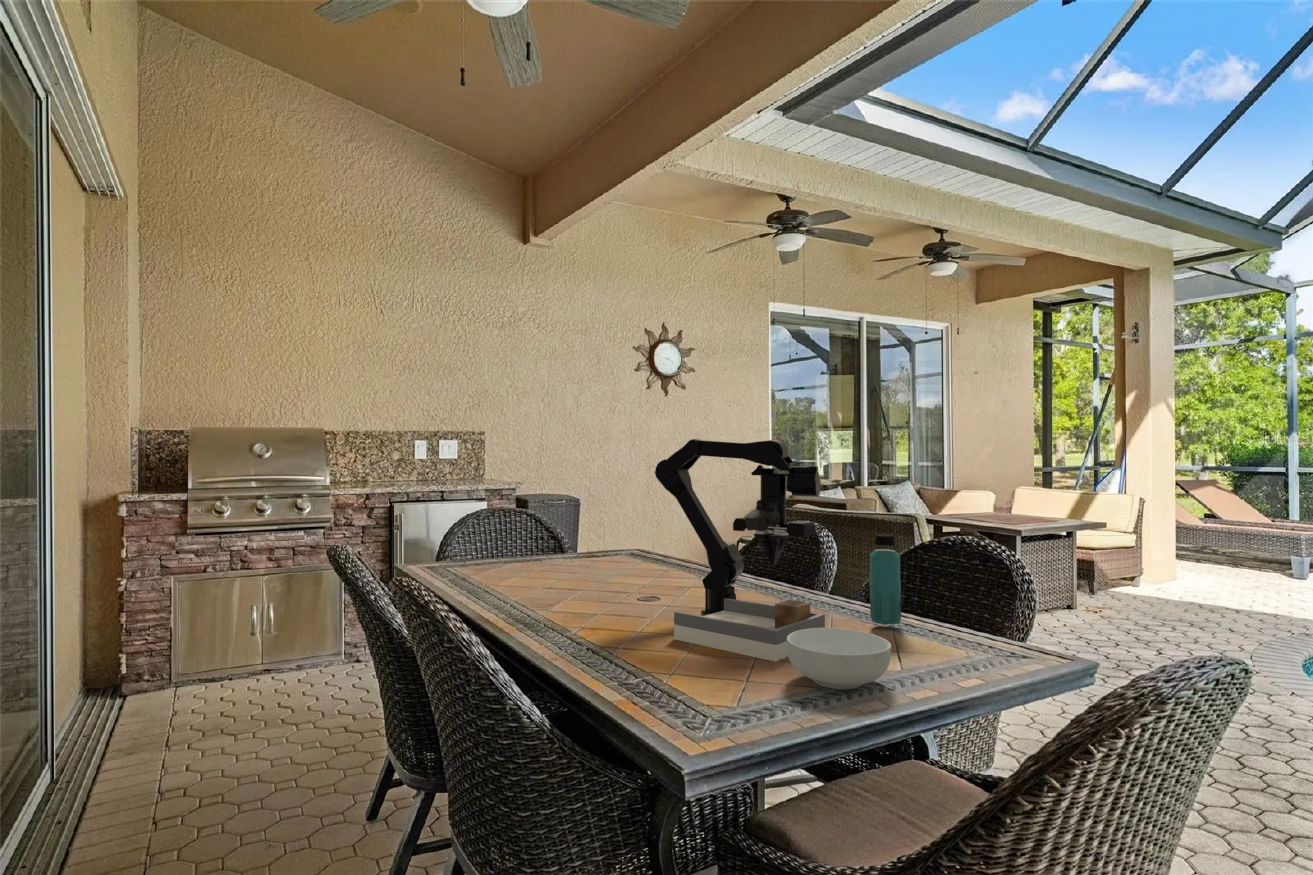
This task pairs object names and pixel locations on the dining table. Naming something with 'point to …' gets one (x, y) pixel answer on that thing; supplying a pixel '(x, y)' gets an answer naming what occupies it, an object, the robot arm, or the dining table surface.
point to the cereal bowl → (838, 656)
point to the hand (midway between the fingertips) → (773, 564)
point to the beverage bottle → (885, 583)
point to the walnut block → (790, 612)
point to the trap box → (742, 629)
